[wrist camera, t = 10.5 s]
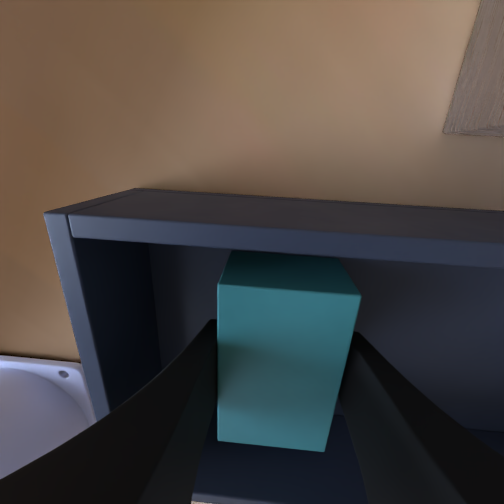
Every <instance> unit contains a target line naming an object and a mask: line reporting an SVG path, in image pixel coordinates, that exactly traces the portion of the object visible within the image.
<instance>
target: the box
mask: <svg viewBox="0 0 504 504" xmlns="http://www.w3.org/2000/svg"><path fill="white" fill-rule="evenodd" d="M43 215H44V219H45V222H46V226H47V230H48V234H49V238H50V242H51V246H52V250H53V254H54V258H55V262H56V265H57V269H58V273H59V277H60V281H61V285H62V289H63V293H64V297H65V301H66V305H67V308H68V312H69V316H70V320H71V324H72V328H73V332H74V336H75V340H76V344H77V347H78V351H79V355H80V359H81V363H82V367H83V371H84V375H85V379H86V383H87V387H88V390H89V394H90V398H91V402H92V406H93V410H94V414H95V418H96V422H97V421H99V420H100V419H102V418H103V417H105V416H106V415H108V414H109V413H110V412H112V411H113V410H115V409H116V408H117V407H119V406H120V405H121V404H123V403H124V402H125V401H126V400H128V399H129V398H130V397H132V396H133V395H134V394H136V393H137V392H138V391H139V390H141V389H142V388H143V387H144V386H145V385H147V384H148V383H149V382H150V381H151V380H152V379H154V378H155V377H156V376H157V375H158V374H159V373H160V372H161V371H162V370H163V369H164V368H165V367H167V366H168V365H169V364H170V363H171V362H172V361H173V360H174V359H175V358H176V357H177V356H178V355H179V354H180V353H181V352H182V351H183V350H184V348H185V347H186V346H187V345H188V344H189V343H190V342H191V341H192V340H193V339H194V338H195V336H196V335H197V334H198V333H199V332H200V331H201V329H202V328H203V327H204V326H205V325H206V323H207V322H208V321H209V320H210V319H217V285H218V282H219V280H220V277H221V275H222V273H223V270H224V268H225V265H226V263H227V260H228V258H229V255H230V253H231V251H241V252H255V253H268V254H282V255H296V256H310V257H324V258H337V259H339V260H340V262H341V264H342V265H343V267H344V268H345V270H346V271H347V273H348V275H349V276H350V278H351V279H352V281H353V283H354V284H355V286H356V287H357V289H358V290H359V292H360V294H361V295H362V298H361V302H360V307H359V311H358V315H357V319H356V323H355V327H354V331H355V332H359V333H360V334H361V335H363V336H364V337H365V338H366V339H367V340H368V341H369V342H370V343H371V344H372V345H373V346H374V348H375V349H376V350H377V351H378V352H379V353H380V354H381V355H382V356H383V357H384V358H385V359H386V360H387V361H388V362H389V363H390V364H391V365H393V366H394V367H395V368H396V369H397V370H398V371H399V372H400V373H401V374H402V375H403V376H404V377H405V378H406V379H407V380H408V381H409V382H410V383H412V384H413V385H414V386H415V387H416V388H417V389H418V390H419V391H420V392H422V393H423V394H424V395H425V396H426V397H427V398H428V399H430V400H431V401H432V402H433V403H434V404H435V405H437V406H438V407H439V408H440V409H441V410H443V411H444V412H445V413H446V414H448V415H449V416H450V417H451V418H453V419H454V420H455V421H456V422H458V423H459V424H460V425H461V426H463V427H464V428H465V429H466V430H468V431H469V432H470V433H472V434H473V435H474V436H476V437H477V438H478V439H480V440H481V441H482V442H484V443H485V444H487V445H488V446H489V447H491V448H492V449H494V450H495V451H496V452H498V453H499V454H501V455H502V456H503V457H504V211H494V210H477V209H461V208H445V207H429V206H413V205H397V204H381V203H365V202H349V201H333V200H317V199H300V198H284V197H268V196H252V195H236V194H220V193H204V192H188V191H172V190H156V189H140V188H134V189H130V190H126V191H123V192H119V193H115V194H111V195H107V196H104V197H100V198H96V199H92V200H88V201H85V202H81V203H77V204H73V205H69V206H66V207H62V208H58V209H54V210H50V211H47V212H44V214H43ZM191 501H196V502H204V503H212V504H369V503H368V499H367V494H366V490H365V485H364V480H363V477H362V473H361V469H360V466H359V462H358V459H357V456H356V452H355V449H354V446H353V443H352V439H351V436H350V433H349V430H348V426H347V423H346V420H345V416H344V413H343V410H342V406H341V403H340V400H339V396H338V398H337V402H336V406H335V410H334V414H333V419H332V423H331V427H330V431H329V435H328V439H327V444H326V448H325V451H324V452H318V451H309V450H300V449H290V448H281V447H272V446H262V445H253V444H244V443H234V442H225V441H218V439H217V401H216V404H215V407H214V411H213V414H212V418H211V421H210V425H209V428H208V432H207V435H206V438H205V442H204V445H203V449H202V453H201V457H200V461H199V466H198V471H197V476H196V480H195V485H194V490H193V495H192V500H191Z"/></svg>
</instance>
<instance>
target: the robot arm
mask: <svg viewBox="0 0 504 504" xmlns="http://www.w3.org/2000/svg"><path fill="white" fill-rule="evenodd" d="M338 396H339V400H340V403H341V406H342V410H343V413H344V416H345V420H346V423H347V426H348V430H349V433H350V436H351V439H352V443H353V446H354V449H355V452H356V456H357V459H358V462H359V466H360V469H361V473H362V477H363V480H364V485H365V490H366V494H367V499H368V503H369V504H504V457H503V456H502V455H501V454H499V453H498V452H496V451H495V450H494V449H492V448H491V447H489V446H488V445H487V444H485V443H484V442H482V441H481V440H480V439H478V438H477V437H476V436H474V435H473V434H472V433H470V432H469V431H468V430H466V429H465V428H464V427H463V426H461V425H460V424H459V423H458V422H456V421H455V420H454V419H453V418H451V417H450V416H449V415H448V414H446V413H445V412H444V411H443V410H441V409H440V408H439V407H438V406H437V405H435V404H434V403H433V402H432V401H431V400H430V399H428V398H427V397H426V396H425V395H424V394H423V393H422V392H420V391H419V390H418V389H417V388H416V387H415V386H414V385H413V384H412V383H410V382H409V381H408V380H407V379H406V378H405V377H404V376H403V375H402V374H401V373H400V372H399V371H398V370H397V369H396V368H395V367H394V366H393V365H391V364H390V363H389V362H388V361H387V360H386V359H385V358H384V357H383V356H382V355H381V354H380V353H379V352H378V351H377V350H376V349H375V348H374V346H373V345H372V344H371V343H370V342H369V341H368V340H367V339H366V338H365V337H364V336H363V335H361V334H360V333H359V332H355V331H353V336H352V340H351V344H350V348H349V352H348V356H347V361H346V365H345V369H344V373H343V377H342V381H341V385H340V390H339V394H338ZM216 401H217V319H210V320H209V321H208V322H207V323H206V325H205V326H204V327H203V328H202V329H201V331H200V332H199V333H198V334H197V335H196V336H195V338H194V339H193V340H192V341H191V342H190V343H189V344H188V345H187V346H186V347H185V348H184V350H183V351H182V352H181V353H180V354H179V355H178V356H177V357H176V358H175V359H174V360H173V361H172V362H171V363H170V364H169V365H168V366H167V367H165V368H164V369H163V370H162V371H161V372H160V373H159V374H158V375H157V376H156V377H155V378H154V379H152V380H151V381H150V382H149V383H148V384H147V385H145V386H144V387H143V388H142V389H141V390H139V391H138V392H137V393H136V394H134V395H133V396H132V397H130V398H129V399H128V400H126V401H125V402H124V403H123V404H121V405H120V406H119V407H117V408H116V409H115V410H113V411H112V412H110V413H109V414H108V415H106V416H105V417H103V418H102V419H100V420H99V421H97V422H96V418H95V414H94V410H93V406H92V402H91V398H90V394H89V390H88V387H87V383H86V379H85V375H84V371H83V367H82V364H80V363H75V362H65V361H55V360H45V359H35V358H24V357H14V356H4V355H0V504H191V500H192V495H193V490H194V485H195V480H196V476H197V471H198V466H199V461H200V457H201V453H202V449H203V445H204V442H205V438H206V435H207V432H208V428H209V425H210V421H211V418H212V414H213V411H214V407H215V404H216Z"/></svg>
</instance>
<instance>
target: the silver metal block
mask: <svg viewBox="0 0 504 504" xmlns="http://www.w3.org/2000/svg"><path fill="white" fill-rule="evenodd" d="M443 133H445V134H463V135H483V136H502V137H504V0H481V4H480V7H479V10H478V14H477V17H476V20H475V24H474V27H473V31H472V34H471V37H470V41H469V44H468V47H467V51H466V54H465V58H464V61H463V64H462V68H461V71H460V74H459V78H458V81H457V84H456V88H455V91H454V95H453V98H452V101H451V105H450V108H449V111H448V115H447V118H446V122H445V125H444V128H443Z"/></svg>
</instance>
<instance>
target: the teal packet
mask: <svg viewBox="0 0 504 504" xmlns="http://www.w3.org/2000/svg"><path fill="white" fill-rule="evenodd" d="M361 298H362V295H361V294H360V292H359V290H358V289H357V287H356V286H355V284H354V283H353V281H352V279H351V278H350V276H349V275H348V273H347V271H346V270H345V268H344V267H343V265H342V264H341V262H340V260H339V259H337V258H324V257H310V256H296V255H282V254H268V253H255V252H241V251H231V253H230V255H229V258H228V260H227V263H226V265H225V268H224V270H223V273H222V275H221V277H220V280H219V282H218V285H217V439H218V441H225V442H234V443H244V444H253V445H262V446H272V447H281V448H290V449H300V450H309V451H318V452H324V451H325V448H326V444H327V439H328V435H329V431H330V427H331V423H332V419H333V414H334V410H335V406H336V402H337V398H338V394H339V390H340V385H341V381H342V377H343V373H344V369H345V365H346V361H347V356H348V352H349V348H350V344H351V340H352V336H353V331H354V327H355V323H356V319H357V315H358V311H359V307H360V302H361Z"/></svg>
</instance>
